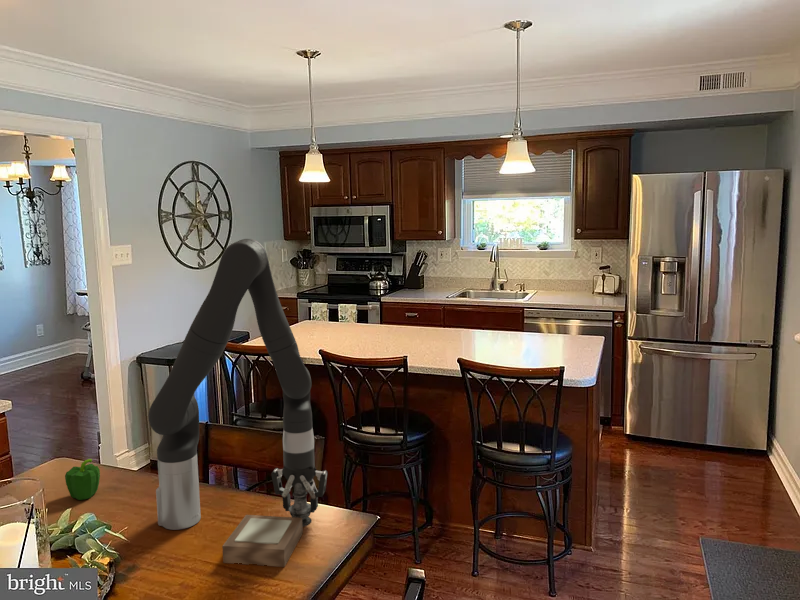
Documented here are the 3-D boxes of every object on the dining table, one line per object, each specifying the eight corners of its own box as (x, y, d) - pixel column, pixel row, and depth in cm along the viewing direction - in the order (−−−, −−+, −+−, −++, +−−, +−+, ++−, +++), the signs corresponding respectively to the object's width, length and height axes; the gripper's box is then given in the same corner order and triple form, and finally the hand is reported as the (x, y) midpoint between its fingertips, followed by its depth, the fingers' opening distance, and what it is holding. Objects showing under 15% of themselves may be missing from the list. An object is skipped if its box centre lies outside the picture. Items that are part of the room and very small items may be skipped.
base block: (223, 562, 134) (222, 544, 134) (246, 530, 148) (245, 513, 147) (284, 566, 132) (284, 548, 132) (302, 533, 146) (302, 516, 146)
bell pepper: (67, 506, 161) (64, 470, 159) (66, 493, 168) (63, 459, 166) (102, 498, 165) (99, 463, 163) (100, 487, 172) (97, 453, 171)
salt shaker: (308, 528, 148) (306, 482, 147) (285, 526, 150) (283, 480, 148) (316, 516, 154) (314, 472, 152) (294, 514, 155) (292, 470, 154)
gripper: (265, 450, 146) (267, 516, 149) (323, 453, 144) (325, 519, 147) (275, 439, 154) (277, 502, 156) (330, 441, 152) (332, 504, 154)
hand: (300, 510), depth 151 cm, fingers closed on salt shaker, 6 cm apart
